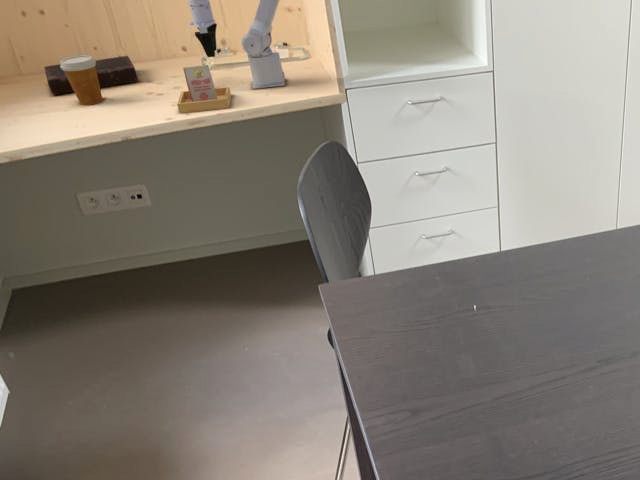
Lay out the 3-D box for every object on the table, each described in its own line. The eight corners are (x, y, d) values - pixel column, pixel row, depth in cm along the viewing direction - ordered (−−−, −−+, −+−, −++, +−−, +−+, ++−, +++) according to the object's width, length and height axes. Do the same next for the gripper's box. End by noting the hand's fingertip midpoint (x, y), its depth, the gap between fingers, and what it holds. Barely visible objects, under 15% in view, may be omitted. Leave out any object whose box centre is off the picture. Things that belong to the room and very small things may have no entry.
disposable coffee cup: (74, 99, 236) (59, 57, 228) (108, 94, 238) (94, 53, 231) (73, 108, 228) (57, 65, 221) (108, 103, 231) (94, 60, 224)
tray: (231, 95, 233) (229, 86, 232) (229, 107, 224) (227, 98, 222) (183, 100, 231) (181, 91, 230) (179, 113, 221) (177, 104, 220)
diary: (139, 82, 248) (134, 66, 245) (53, 96, 239) (46, 79, 236) (131, 69, 261) (126, 53, 258) (49, 82, 252) (43, 65, 249)
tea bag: (193, 101, 228) (183, 66, 222) (217, 98, 229) (208, 63, 223) (192, 105, 225) (182, 69, 219) (217, 102, 226) (207, 66, 220)
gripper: (187, 0, 233) (200, 49, 241) (183, 10, 222) (196, 61, 230) (212, -2, 234) (223, 46, 243) (208, 8, 223) (221, 58, 231)
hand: (212, 53), depth 236 cm, fingers open, 7 cm apart
